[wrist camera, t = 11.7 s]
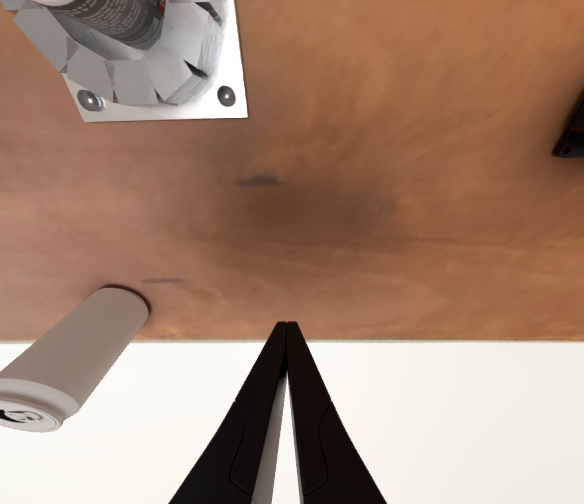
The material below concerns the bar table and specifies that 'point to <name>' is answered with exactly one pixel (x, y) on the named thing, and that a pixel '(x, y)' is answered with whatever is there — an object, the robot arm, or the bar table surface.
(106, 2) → the pill bottle
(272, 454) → the robot arm
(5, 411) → the beverage can
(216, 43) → the socket
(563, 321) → the bar table surface
